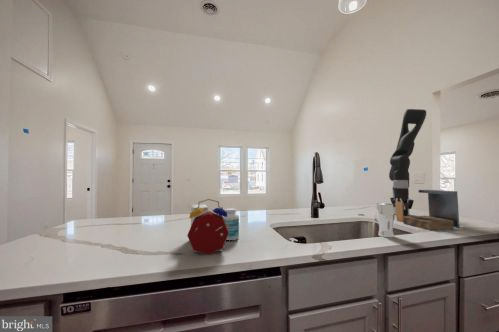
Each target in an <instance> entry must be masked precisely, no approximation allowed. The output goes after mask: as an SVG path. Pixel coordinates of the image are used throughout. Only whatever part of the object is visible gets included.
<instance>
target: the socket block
mask: <svg viewBox="0 0 499 332" xmlns="http://www.w3.org/2000/svg"><path fill="white" fill-rule="evenodd" d="M403 219H404V222H403V225H407V226H412V227H415V228H419V229H423V230H427V231H434V230H449V229H450V228H451V229H454V228H455V227H454V224H453V221H452V220H447V219H441V218H436V217H430V216H429V215H413V216H408V217H403Z"/></svg>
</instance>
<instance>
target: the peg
mask: <svg viewBox="0 0 499 332" xmlns="http://www.w3.org/2000/svg"><path fill="white" fill-rule="evenodd" d="M405 207H406V206H405ZM403 210H404V209H403V205H402V202H399V201H396V214H395V215H396V221H397V222H402V223H404V219H403V217H409V215H407V216H404V211H403Z"/></svg>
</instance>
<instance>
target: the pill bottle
mask: <svg viewBox="0 0 499 332" xmlns="http://www.w3.org/2000/svg"><path fill="white" fill-rule="evenodd" d="M225 211H226V212H227V216H228V217H224V216H223V219H224V221H225V223H226V226H227V228H228V233H229V234H228V236H227V239H226V240H229V241H228V242H231V241H230V240H234V241H236V239H237V240H238V239H239V238H240V215H239V214H238V213H237V208H231V207H230V208H225Z"/></svg>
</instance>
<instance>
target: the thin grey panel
mask: <svg viewBox="0 0 499 332" xmlns="http://www.w3.org/2000/svg"><path fill="white" fill-rule="evenodd" d="M418 193H420V194H421V193H422V194H427V197H428V198H427V201H428V216H430V217H436V218H441V219H447V220H452V221H453V224H454V228H456V229H460V216H459V214H460V213H459V212H460V211H459V199H458V191H456V190H455V191H454V190H441V189H440V190H439V189H418Z"/></svg>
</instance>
